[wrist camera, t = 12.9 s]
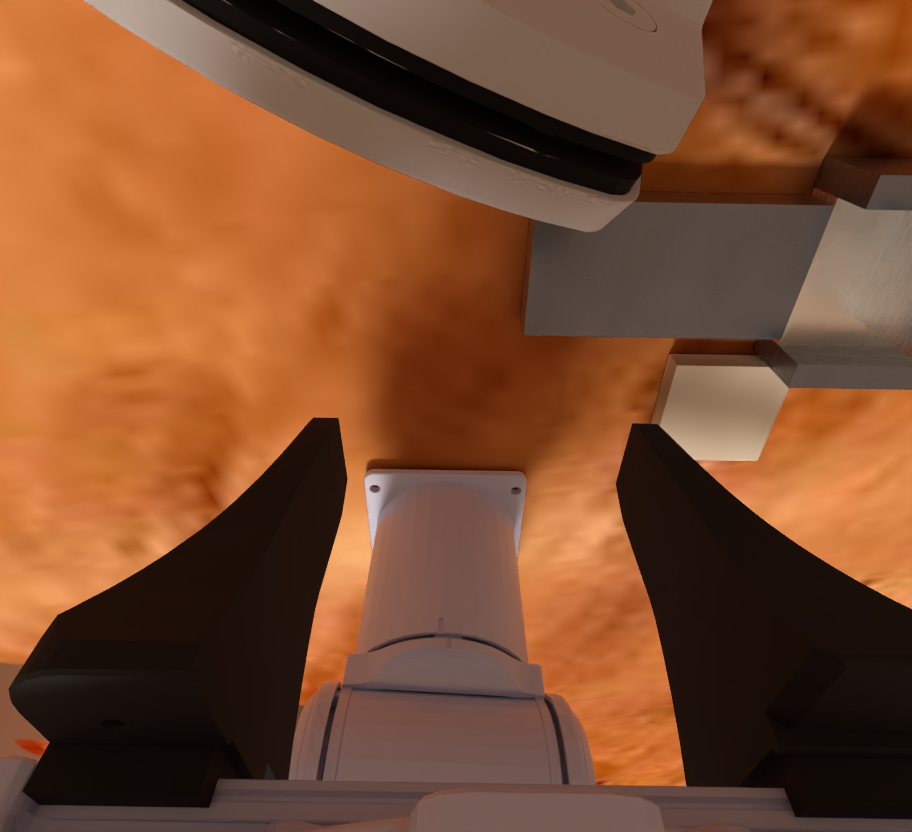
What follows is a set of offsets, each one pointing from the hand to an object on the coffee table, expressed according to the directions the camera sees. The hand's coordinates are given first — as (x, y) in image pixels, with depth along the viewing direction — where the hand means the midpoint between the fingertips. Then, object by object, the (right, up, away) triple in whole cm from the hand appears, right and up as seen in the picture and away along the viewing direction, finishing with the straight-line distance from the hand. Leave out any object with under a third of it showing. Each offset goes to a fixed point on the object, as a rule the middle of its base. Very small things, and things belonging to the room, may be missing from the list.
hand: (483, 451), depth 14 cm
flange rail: (+11, +7, +7) cm, 15 cm away
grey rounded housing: (-2, +14, +3) cm, 15 cm away
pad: (+11, +1, +11) cm, 16 cm away
